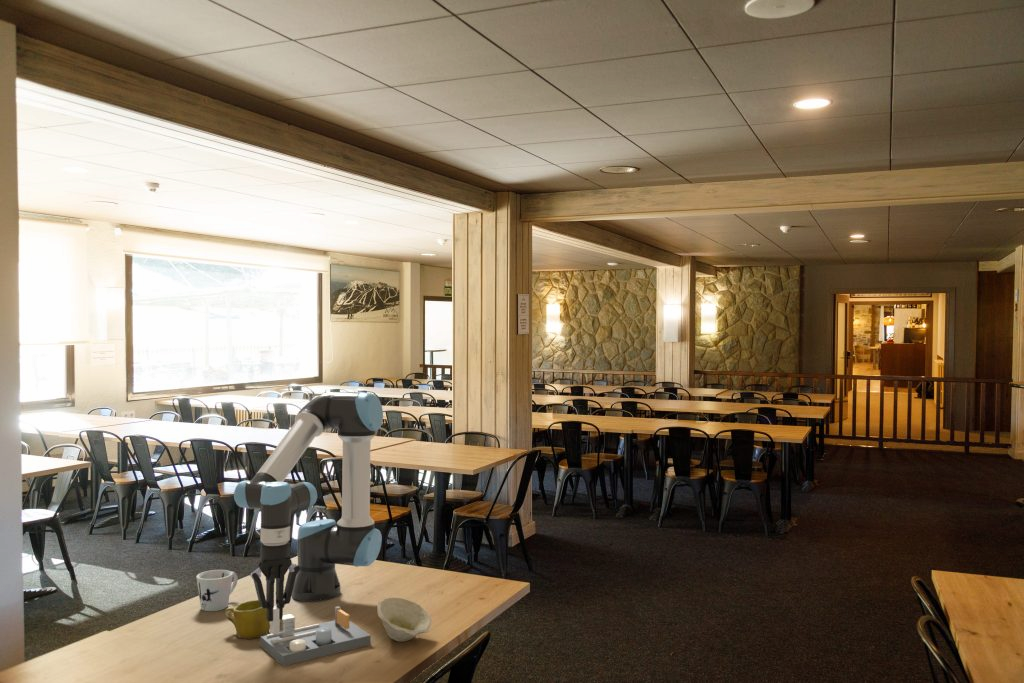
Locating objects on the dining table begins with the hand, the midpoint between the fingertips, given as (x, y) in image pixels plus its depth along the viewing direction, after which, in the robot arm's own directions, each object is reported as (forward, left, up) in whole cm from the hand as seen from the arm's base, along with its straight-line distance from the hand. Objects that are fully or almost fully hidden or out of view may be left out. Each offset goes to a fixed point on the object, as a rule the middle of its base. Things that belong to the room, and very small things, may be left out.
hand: (274, 632), depth 207 cm
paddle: (+3, +18, -2) cm, 18 cm away
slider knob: (0, +3, -2) cm, 4 cm away
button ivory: (+9, +3, -4) cm, 10 cm away
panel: (+4, +10, -4) cm, 11 cm away
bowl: (+14, +31, -5) cm, 34 cm away
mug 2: (-15, -2, -5) cm, 16 cm away
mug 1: (-43, -1, -5) cm, 43 cm away
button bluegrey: (+9, +10, -2) cm, 14 cm away
